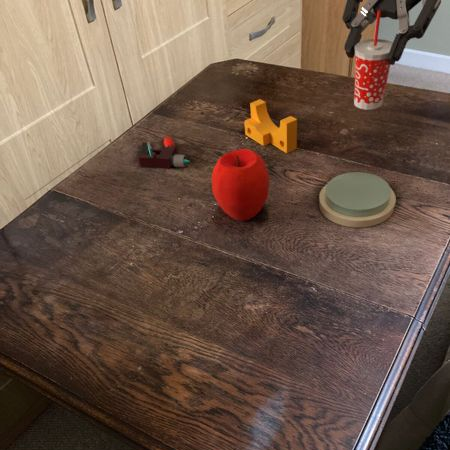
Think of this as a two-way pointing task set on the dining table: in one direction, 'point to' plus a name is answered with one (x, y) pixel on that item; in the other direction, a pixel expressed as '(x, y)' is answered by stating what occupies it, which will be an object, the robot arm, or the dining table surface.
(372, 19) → the robot arm
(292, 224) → the dining table surface
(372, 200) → the round push button
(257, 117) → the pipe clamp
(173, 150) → the toy gun
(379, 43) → the beverage cup
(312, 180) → the dining table surface
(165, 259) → the dining table surface
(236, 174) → the apple
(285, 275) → the dining table surface
